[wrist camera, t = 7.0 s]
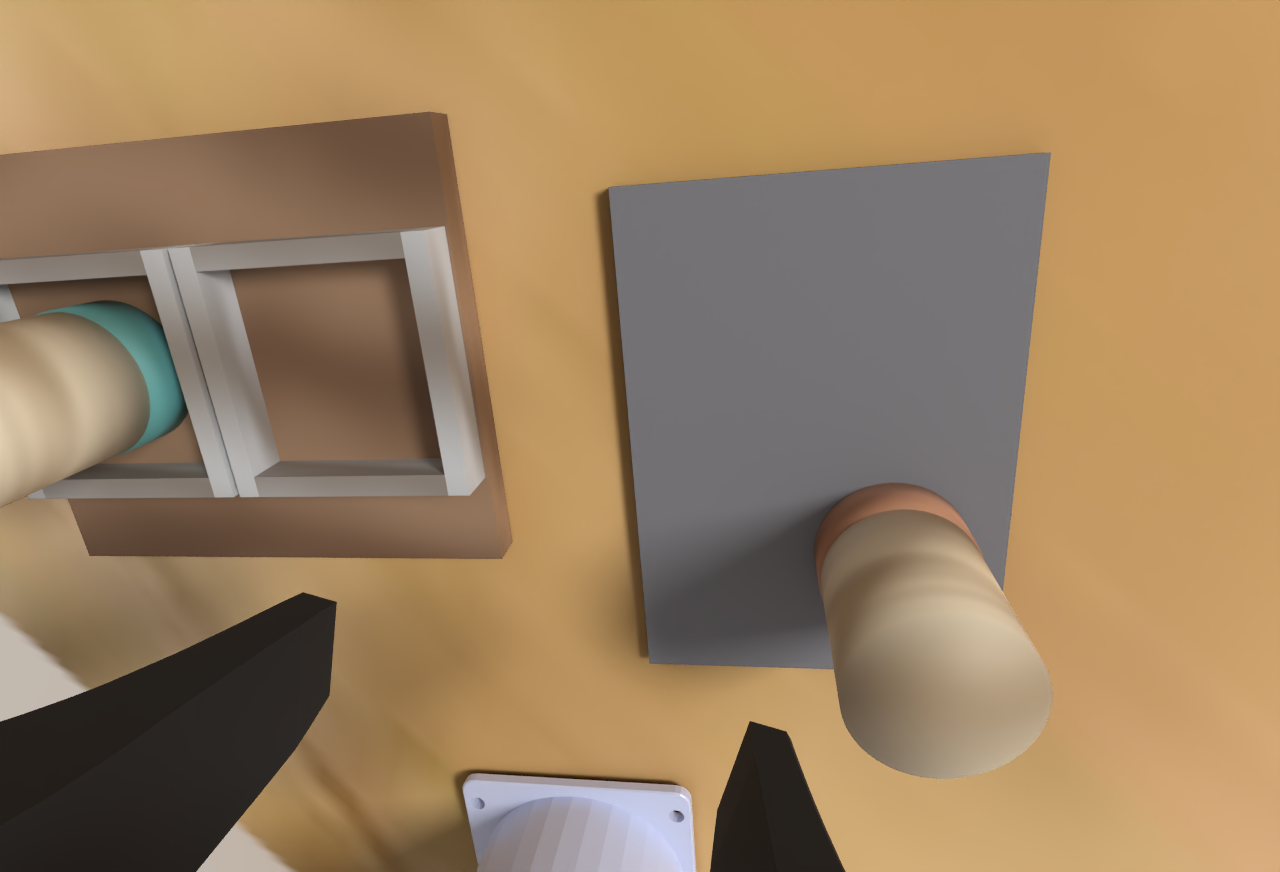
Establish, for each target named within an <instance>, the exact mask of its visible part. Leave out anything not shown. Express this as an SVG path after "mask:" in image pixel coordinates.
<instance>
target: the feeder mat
mask: <svg viewBox="0 0 1280 872" xmlns="http://www.w3.org/2000/svg"><path fill="white" fill-rule="evenodd" d="M1050 155H1051V153H1035V154H1023V155H1010V156H997V157H985V158H972V159H959V160H946V161H934V162H921V163H908V164H896V165H883V166H870V167H858V168H845V169H832V170H819V171H807V172H794V173H781V174H769V175H756V176H743V177H730V178H718V179H705V180H692V181H680V182H667V183H654V184H641V185H629V186H616V187H608V188H609V199H610V211H611V222H612V234H613V246H614V257H615V269H616V280H617V292H618V303H619V315H620V327H621V338H622V350H623V361H624V373H625V385H626V396H627V408H628V419H629V431H630V442H631V454H632V466H633V477H634V489H635V500H636V512H637V523H638V535H639V547H640V558H641V570H642V581H643V593H644V605H645V616H646V628H647V639H648V651H649V662H650V663H652V664H684V665H716V666H748V667H780V668H812V669H834V666H833V660H832V654H831V647H830V641H829V635H828V628H827V622H826V616H825V609H824V603H823V600H822V597H821V594H820V589H819V584H818V577H817V570H816V564H815V556H814V546H815V539H816V535H817V532H818V529H819V527H820V525H821V523H822V521H823V519H824V518H825V516H826V515H827V514H828V512H829V511H830V510H831V509H832V508H833V507H834V506H835V505H836V504H837V503H838V502H839V501H841V500H842V499H843V498H845V497H846V496H848V495H850V494H852V493H853V492H855V491H858V490H860V489H862V488H865V487H869V486H872V485H877V484H882V483H907V484H913V485H917V486H920V487H924V488H926V489H929V490H931V491H933V492H935V493H937V494H938V495H940V496H942V497H943V498H944V499H946V500H947V501H948V502H949V503H951V505H952V506H953V507H954V508H955V509H956V510H957V511H958V513H959V514H960V516H961V517H962V519H963V520H964V522H965V524H966V525H967V527H968V529H969V531H970V532H971V534H972V536H973V537H974V539H975V541H976V542H977V544H978V546H979V548H980V550H981V552H982V555H983V558H984V560H985V562H986V564H987V566H988V567H989V569H990V571H991V573H992V574H993V576H994V578H995V579H996V581H997V583H998V585H999V586H1000V588H1001V590H1002V592H1003V584H1004V575H1005V565H1006V556H1007V547H1008V538H1009V529H1010V520H1011V511H1012V502H1013V493H1014V483H1015V474H1016V465H1017V456H1018V447H1019V438H1020V429H1021V420H1022V410H1023V401H1024V392H1025V383H1026V374H1027V365H1028V356H1029V347H1030V338H1031V328H1032V319H1033V310H1034V301H1035V292H1036V283H1037V274H1038V265H1039V256H1040V246H1041V237H1042V228H1043V219H1044V210H1045V201H1046V192H1047V183H1048V174H1049V164H1050Z"/></svg>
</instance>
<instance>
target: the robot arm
mask: <svg viewBox="0 0 1280 872" xmlns="http://www.w3.org/2000/svg"><path fill="white" fill-rule="evenodd" d="M336 604H337V602H335V601H331V600H328V599H324V598H321V597H317V596H314V595H310V594H307V593H304V592H303V593H301V594H298V595H296V596H294V597H292V598H290V599H288V600H286V601H283V602H281V603H279V604H277V605H275V606H273V607H271V608H269V609H267V610H265V611H263V612H261V613H259V614H257V615H255V616H253V617H251V618H249V619H247V620H245V621H243V622H241V623H239V624H237V625H235V626H233V627H231V628H229V629H226V630H224V631H222V632H220V633H218V634H216V635H214V636H212V637H210V638H208V639H206V640H203V641H201V642H199V643H197V644H195V645H193V646H191V647H189V648H187V649H185V650H182V651H180V652H178V653H176V654H174V655H171V656H169V657H167V658H164V659H162V660H160V661H157V662H155V663H153V664H150V665H148V666H146V667H144V668H141V669H139V670H137V671H134V672H132V673H130V674H127V675H125V676H123V677H120V678H118V679H116V680H113V681H111V682H109V683H106V684H104V685H101V686H99V687H96V688H94V689H91V690H89V691H86V692H83V693H81V694H78V695H76V696H73V697H70V698H68V699H65V700H62V701H59V702H56V703H54V704H51V705H48V706H45V707H43V708H39V709H37V710H34V711H31V712H28V713H25V714H22V715H20V716H17V717H14V718H10V719H8V720H4V721H1V722H0V872H196V871H197V870H198V869H199V867H200V866H201V865H202V864H203V863H204V861H205V860H206V859H207V858H208V856H209V855H210V854H211V853H212V852H213V850H214V849H215V848H216V847H217V845H218V844H219V843H220V842H221V841H222V839H223V838H224V837H225V835H226V834H227V833H228V832H229V831H230V829H231V828H232V827H233V826H234V825H235V823H236V822H237V821H238V820H239V818H240V817H241V816H242V815H243V814H244V812H245V811H246V810H247V809H248V807H249V806H250V805H251V804H252V803H253V801H254V800H255V799H256V798H257V796H258V795H259V794H260V793H261V792H262V790H263V789H264V788H265V787H266V785H267V784H268V783H269V782H270V780H271V779H272V778H273V777H274V775H275V774H276V773H277V772H278V770H279V769H280V768H281V767H282V765H283V764H284V763H285V762H286V760H287V759H288V758H289V757H290V755H291V754H292V753H293V752H294V750H295V749H296V747H297V746H298V744H299V743H300V741H301V740H302V738H303V737H304V735H305V734H306V732H307V730H308V729H309V727H310V726H311V724H312V723H313V721H314V719H315V718H316V716H317V715H318V713H319V711H320V710H321V708H322V706H323V705H324V703H325V702H326V700H327V698H328V697H329V694H330V681H331V668H332V655H333V642H334V629H335V617H336ZM463 795H464V800H465V805H466V810H467V814H468V819H469V824H470V829H471V834H472V838H473V843H474V848H475V853H476V858H477V863H478V868H477V871H476V872H696V858H695V844H694V829H693V814H692V799H691V795H690V793H689V791H688V790H687V789H685V788H684V787H682V786H678V785H666V784H649V783H632V782H615V781H598V780H582V779H565V778H548V777H531V776H514V775H497V774H480V773H476V774H471V775H469V776H468V777H467V778H466V780H465V782H464V785H463ZM479 798H480V799H479ZM481 799H482V800H481ZM675 810H676V811H680V812H679V813H677V812H674V811H675ZM710 872H845V870H844V868H843V866H842V864H841V861H840V859H839V857H838V855H837V852H836V850H835V848H834V846H833V844H832V841H831V839H830V837H829V835H828V833H827V830H826V828H825V826H824V824H823V821H822V819H821V816H820V814H819V812H818V809H817V807H816V804H815V802H814V800H813V797H812V795H811V792H810V790H809V787H808V785H807V782H806V779H805V777H804V774H803V772H802V769H801V766H800V764H799V761H798V758H797V755H796V753H795V750H794V747H793V744H792V742H791V739H790V737H789V735H788V734H787V732H786V731H782V730H779V729H775V728H772V727H769V726H765V725H762V724H758V723H755V722H751V721H750V722H749V725H748V728H747V731H746V733H745V736H744V739H743V742H742V744H741V747H740V750H739V752H738V755H737V758H736V761H735V763H734V766H733V769H732V772H731V774H730V777H729V780H728V782H727V785H726V788H725V791H724V793H723V796H722V799H721V802H720V804H719V807H718V810H717V817H716V825H715V834H714V842H713V851H712V860H711V869H710Z"/></svg>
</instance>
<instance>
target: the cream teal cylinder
mask: <svg viewBox="0 0 1280 872" xmlns="http://www.w3.org/2000/svg"><path fill="white" fill-rule="evenodd" d="M188 412H189V411H188V408H187V405H186V401H185V398H184V395H183V392H182V388H181V385H180V382H179V378H178V375H177V372H176V369H175V365H174V362H173V359H172V355H171V352H170V349H169V346H168V342H167V339H166V336H165V332H164V329H163V326H162V325H161V324H160V323H159V322H158V321H157V320H156V319H154V318H153V317H151V316H150V315H149V314H147V313H146V312H144V311H142V310H140V309H139V308H137V307H134V306H132V305H130V304H126V303H123V302H119V301H113V300H100V301H93V302H89V303H84V304H79V305H74V306H69V307H64V308H59V309H55V310H50V311H45V312H42V313H39V314H37V315H35V316H31V317H26V318H21V319H16V320H12V321H7V322H2V323H0V508H1V507H3V506H5V505H7V504H10V503H12V502H14V501H16V500H18V499H21V498H23V497H25V496H27V495H30V494H32V493H34V492H36V491H38V490H41V489H43V488H45V487H47V486H49V485H52V484H54V483H56V482H58V481H60V480H63V479H65V478H67V477H69V476H71V475H74V474H76V473H78V472H80V471H82V470H85V469H87V468H89V467H91V466H93V465H96V464H98V463H100V462H102V461H104V460H107V459H109V458H111V457H113V456H118V455H122V454H124V453H126V452H129V451H131V450H133V449H135V448H137V447H140V446H142V445H144V444H146V443H148V442H151V441H153V440H155V439H157V438H159V437H162V436H164V435H166V434H168V433H170V432H172V431H173V430H175V429H176V428H177V427H178V426H179V425H180V424H181V423H182V422H183V420H184V419H185V418H186V416H187V414H188Z"/></svg>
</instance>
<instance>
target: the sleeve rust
mask: <svg viewBox="0 0 1280 872" xmlns="http://www.w3.org/2000/svg"><path fill="white" fill-rule="evenodd" d="M814 556H815V564H816V570H817V577H818V584H819V589H820V594H821V597H822V600H823V603H824V609H825V616H826V622H827V628H828V635H829V641H830V647H831V654H832V660H833V666H834V673H835V679H836V685H837V692H838V698H839V704H840V709H841V714H842V718H843V720H844V723H845V725H846V728H847V729H848V731H849V733H850V734H851V736H852V737H853V739H854V740H855V741H856V742H857V744H858V745H859V746H860V747H861V748H862V749H863V750H864V751H866V752H867V753H868V754H869V755H871V756H872V757H873V758H875V759H876V760H878V761H879V762H881V763H883V764H885V765H886V766H888V767H891V768H893V769H895V770H898V771H901V772H904V773H907V774H910V775H915V776H920V777H926V778H935V779H953V778H964V777H969V776H974V775H978V774H982V773H985V772H988V771H991V770H993V769H996V768H998V767H1001V766H1003V765H1005V764H1006V763H1008V762H1010V761H1012V760H1013V759H1015V758H1016V757H1018V756H1019V755H1020V754H1022V753H1023V752H1024V751H1025V750H1026V749H1027V748H1029V747H1030V746H1031V745H1032V744H1033V742H1034V741H1035V740H1036V739H1037V738H1038V736H1039V735H1040V733H1041V732H1042V730H1043V729H1044V727H1045V725H1046V723H1047V720H1048V718H1049V715H1050V711H1051V707H1052V697H1053V692H1052V684H1051V680H1050V676H1049V673H1048V670H1047V668H1046V666H1045V664H1044V662H1043V660H1042V659H1041V657H1040V655H1039V654H1038V652H1037V650H1036V648H1035V647H1034V645H1033V643H1032V641H1031V640H1030V638H1029V636H1028V635H1027V633H1026V631H1025V629H1024V628H1023V626H1022V624H1021V623H1020V621H1019V619H1018V617H1017V616H1016V614H1015V612H1014V610H1013V609H1012V607H1011V605H1010V604H1009V602H1008V600H1007V598H1006V597H1005V595H1004V593H1003V592H1002V590H1001V588H1000V586H999V585H998V583H997V581H996V579H995V578H994V576H993V574H992V573H991V571H990V569H989V567H988V566H987V564H986V562H985V560H984V558H983V555H982V552H981V550H980V548H979V546H978V544H977V542H976V541H975V539H974V537H973V536H972V534H971V532H970V531H969V529H968V527H967V525H966V524H965V522H964V520H963V519H962V517H961V516H960V514H959V513H958V511H957V510H956V509H955V508H954V507H953V506H952V505H951V503H949V502H948V501H947V500H946V499H944V498H943V497H942V496H940V495H938V494H937V493H935V492H933V491H931V490H929V489H926V488H924V487H920V486H917V485H913V484H907V483H882V484H877V485H872V486H869V487H865V488H862V489H860V490H858V491H855V492H853V493H852V494H850V495H848V496H846V497H845V498H843V499H842V500H841V501H839V502H838V503H837V504H836V505H835V506H834V507H833V508H832V509H831V510H830V511H829V512H828V514H827V515H826V516H825V518H824V519H823V521H822V523H821V525H820V527H819V529H818V532H817V535H816V539H815V546H814Z"/></svg>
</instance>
